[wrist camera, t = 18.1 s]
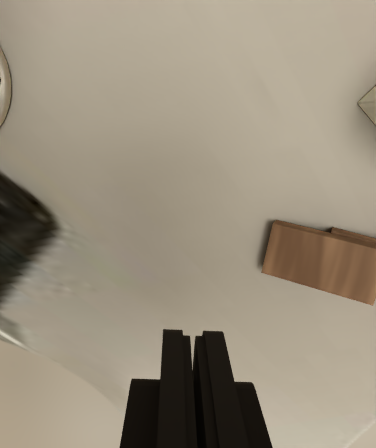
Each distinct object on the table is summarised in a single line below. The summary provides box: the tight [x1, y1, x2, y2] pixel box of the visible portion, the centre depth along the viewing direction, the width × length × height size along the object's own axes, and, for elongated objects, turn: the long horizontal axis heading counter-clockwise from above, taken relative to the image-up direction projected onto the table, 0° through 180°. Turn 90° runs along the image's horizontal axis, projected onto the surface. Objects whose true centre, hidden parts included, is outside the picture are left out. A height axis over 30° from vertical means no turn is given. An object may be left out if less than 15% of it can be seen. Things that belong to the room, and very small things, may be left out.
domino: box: [262, 220, 376, 305], centre depth 33 cm, size 2×5×10 cm
